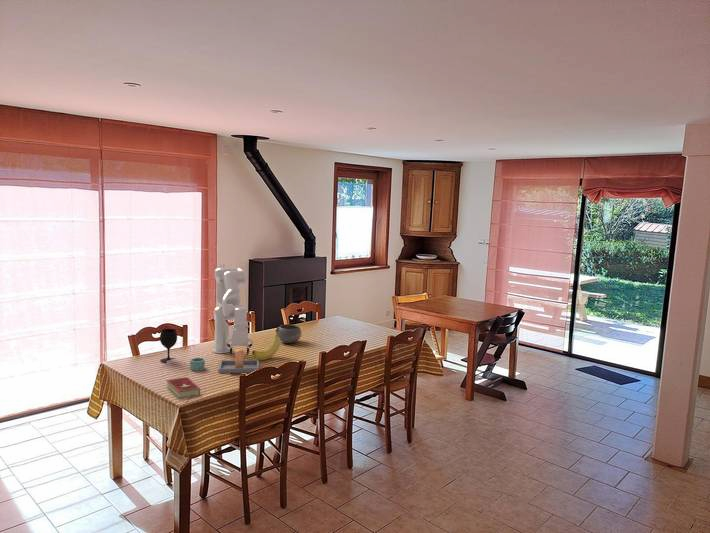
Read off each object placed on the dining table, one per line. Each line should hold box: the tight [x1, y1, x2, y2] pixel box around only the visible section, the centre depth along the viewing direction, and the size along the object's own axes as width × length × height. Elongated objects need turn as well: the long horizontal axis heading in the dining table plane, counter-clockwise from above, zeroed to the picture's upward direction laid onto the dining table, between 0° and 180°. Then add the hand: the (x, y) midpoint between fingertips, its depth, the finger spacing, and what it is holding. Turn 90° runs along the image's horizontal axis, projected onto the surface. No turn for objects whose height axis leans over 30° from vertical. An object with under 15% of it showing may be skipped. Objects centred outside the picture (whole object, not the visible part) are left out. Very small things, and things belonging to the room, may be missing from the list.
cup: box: [189, 357, 206, 372], centre depth 328 cm, size 8×8×6 cm
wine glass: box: [159, 328, 178, 364], centre depth 343 cm, size 10×10×20 cm
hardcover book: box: [166, 376, 201, 399], centre depth 293 cm, size 12×21×4 cm, turn 35°
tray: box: [218, 359, 260, 375], centre depth 333 cm, size 18×24×4 cm
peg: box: [234, 349, 245, 368], centre depth 332 cm, size 5×5×11 cm
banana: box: [251, 327, 281, 361], centre depth 358 cm, size 23×6×20 cm, turn 138°
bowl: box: [278, 323, 302, 344], centre depth 402 cm, size 18×18×13 cm
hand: (239, 354), depth 332 cm, fingers open, 9 cm apart
